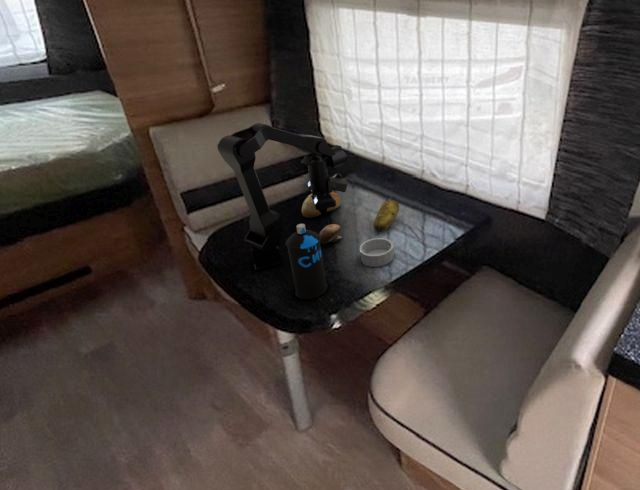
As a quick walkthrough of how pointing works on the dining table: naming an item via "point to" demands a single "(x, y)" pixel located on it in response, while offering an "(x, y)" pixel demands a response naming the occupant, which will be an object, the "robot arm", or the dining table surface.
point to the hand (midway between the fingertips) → (324, 216)
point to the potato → (386, 215)
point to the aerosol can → (306, 263)
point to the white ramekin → (376, 252)
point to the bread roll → (309, 206)
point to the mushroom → (330, 233)
